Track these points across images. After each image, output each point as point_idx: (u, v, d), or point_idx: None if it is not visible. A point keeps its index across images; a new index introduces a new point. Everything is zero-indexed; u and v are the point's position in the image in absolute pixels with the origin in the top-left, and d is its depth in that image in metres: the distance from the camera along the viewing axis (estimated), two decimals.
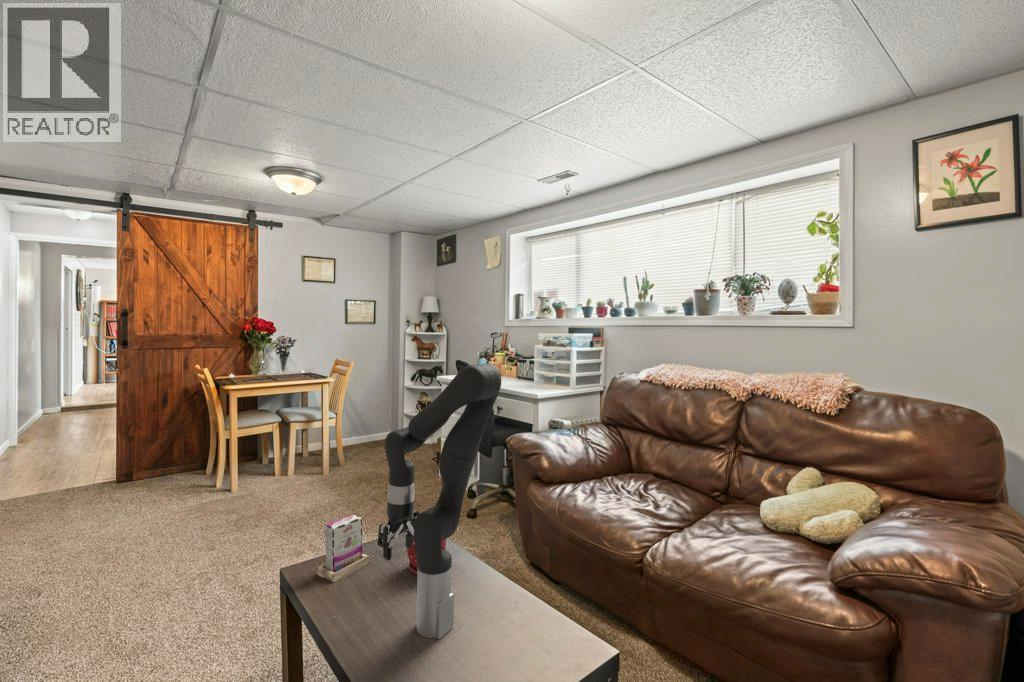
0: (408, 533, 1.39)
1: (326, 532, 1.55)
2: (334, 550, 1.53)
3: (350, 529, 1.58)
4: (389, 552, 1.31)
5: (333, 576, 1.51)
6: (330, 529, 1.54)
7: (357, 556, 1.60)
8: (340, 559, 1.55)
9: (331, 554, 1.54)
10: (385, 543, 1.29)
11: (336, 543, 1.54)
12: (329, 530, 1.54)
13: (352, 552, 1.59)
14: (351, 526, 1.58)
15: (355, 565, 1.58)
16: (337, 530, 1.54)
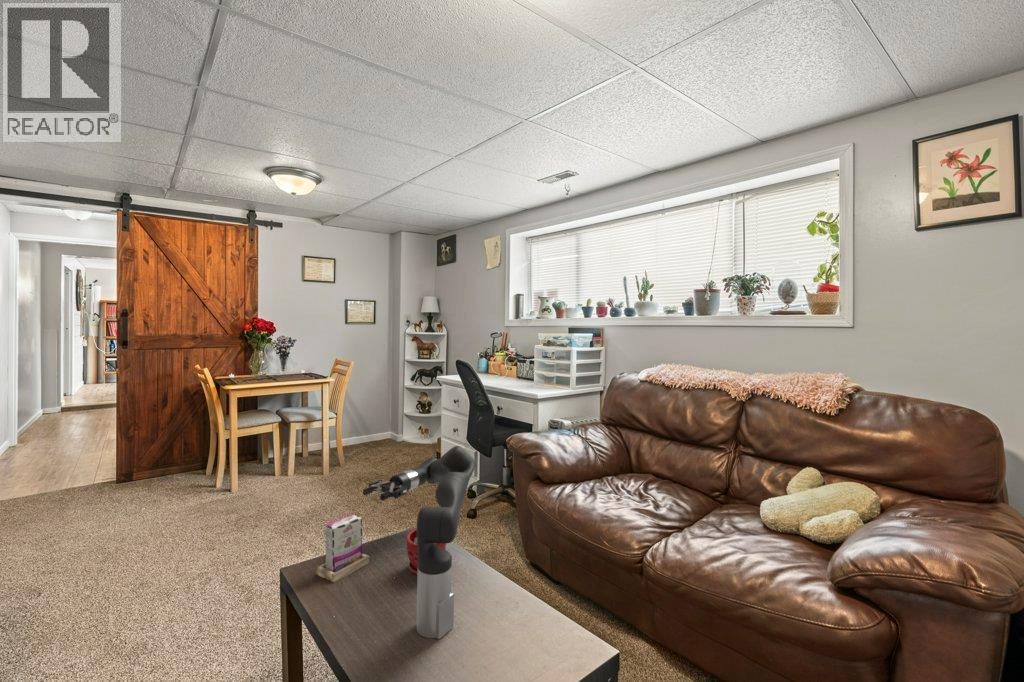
0: (373, 488, 1.74)
1: (326, 532, 1.55)
2: (334, 550, 1.53)
3: (350, 529, 1.58)
4: None
5: (333, 576, 1.51)
6: (330, 529, 1.54)
7: (357, 556, 1.60)
8: (340, 559, 1.55)
9: (331, 554, 1.54)
10: None
11: (336, 543, 1.54)
12: (329, 530, 1.54)
13: (352, 552, 1.59)
14: (351, 526, 1.58)
15: (355, 565, 1.58)
16: (337, 530, 1.54)
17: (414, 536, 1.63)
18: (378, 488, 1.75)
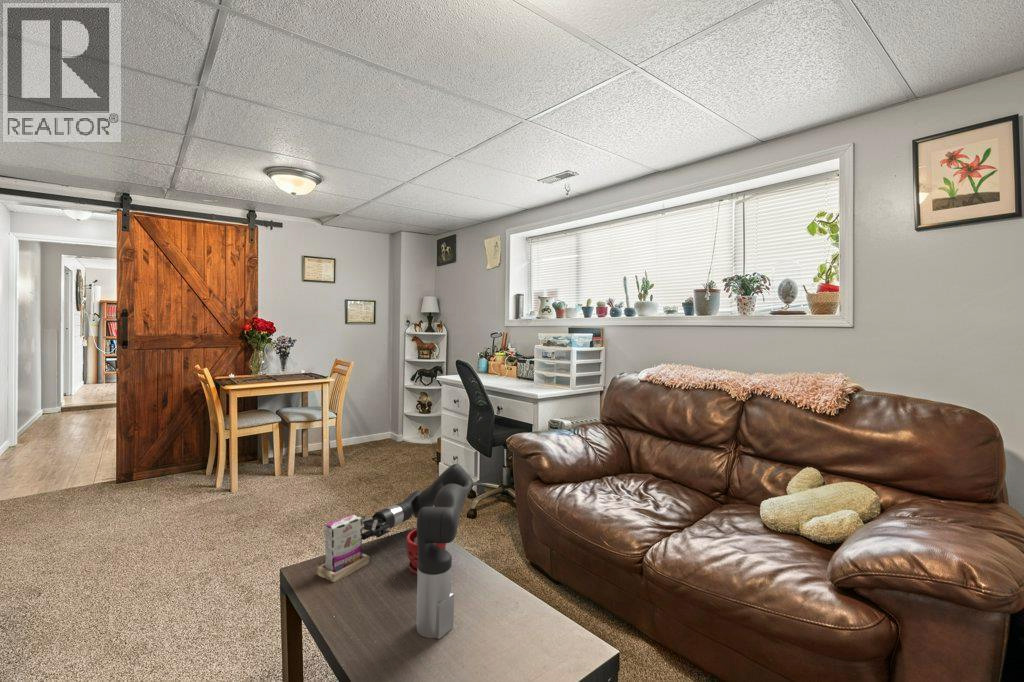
0: None
1: (326, 532, 1.55)
2: (334, 550, 1.53)
3: (350, 529, 1.58)
4: None
5: (333, 576, 1.51)
6: (329, 529, 1.54)
7: (357, 556, 1.60)
8: (340, 559, 1.55)
9: (330, 553, 1.54)
10: None
11: (336, 543, 1.54)
12: (328, 530, 1.54)
13: (352, 552, 1.59)
14: (350, 526, 1.58)
15: (355, 565, 1.58)
16: (337, 530, 1.54)
17: (414, 536, 1.63)
18: None
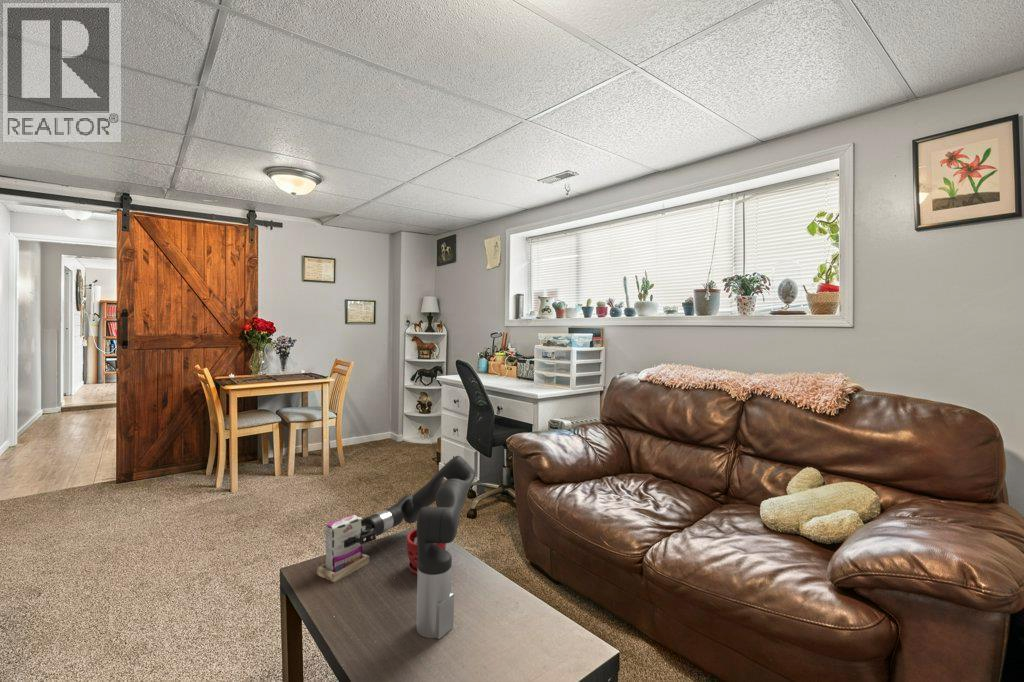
0: None
1: (326, 532, 1.55)
2: (334, 550, 1.53)
3: (350, 529, 1.58)
4: None
5: (333, 576, 1.51)
6: (330, 529, 1.54)
7: (357, 556, 1.60)
8: (340, 559, 1.55)
9: (331, 553, 1.54)
10: None
11: (336, 543, 1.54)
12: (329, 530, 1.54)
13: (352, 552, 1.59)
14: (351, 526, 1.58)
15: (355, 565, 1.58)
16: (337, 530, 1.54)
17: (414, 536, 1.63)
18: None
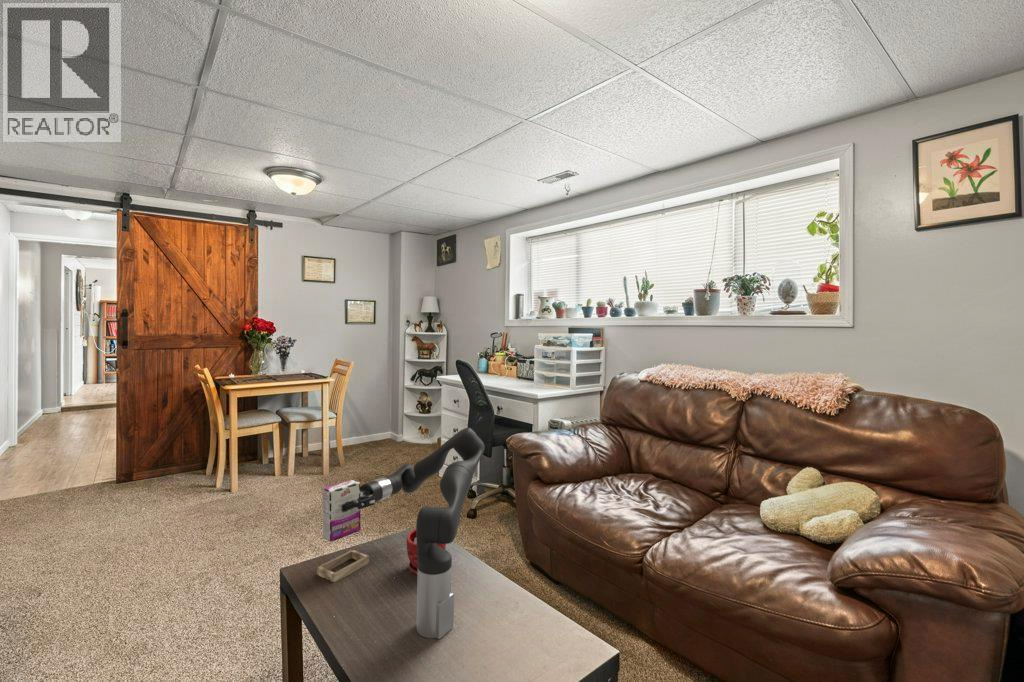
0: None
1: (323, 496, 1.51)
2: (331, 514, 1.49)
3: (348, 493, 1.54)
4: (349, 508, 1.53)
5: (333, 576, 1.51)
6: (327, 492, 1.49)
7: (355, 522, 1.56)
8: (338, 523, 1.51)
9: (328, 517, 1.50)
10: None
11: (333, 507, 1.50)
12: (326, 493, 1.50)
13: (350, 517, 1.55)
14: (348, 490, 1.54)
15: (355, 565, 1.58)
16: (335, 494, 1.50)
17: (414, 536, 1.63)
18: None
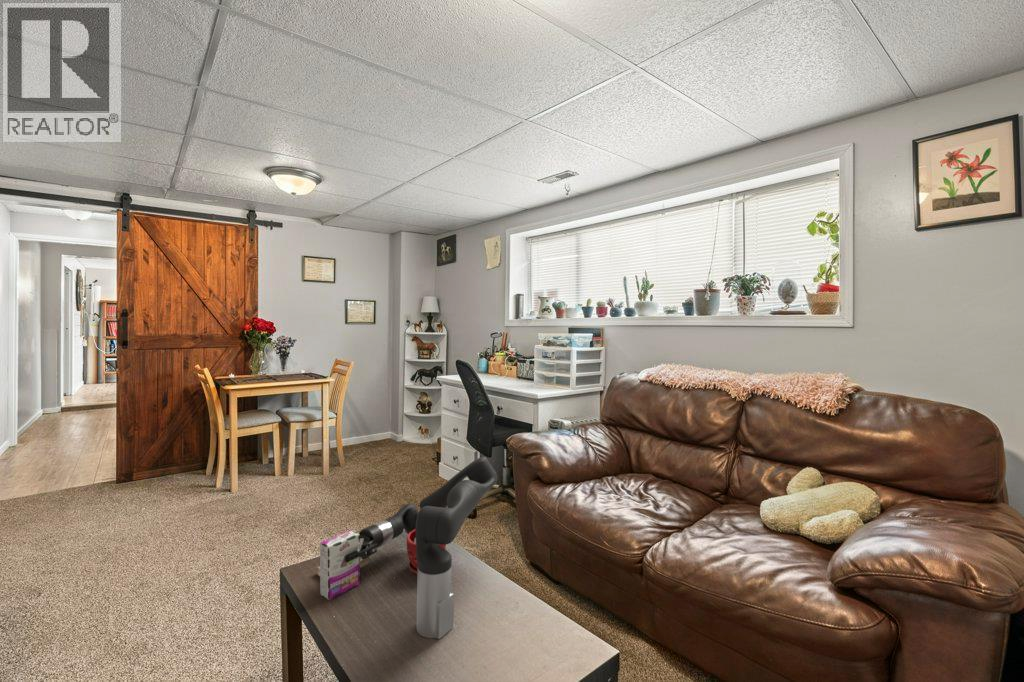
0: None
1: (321, 551, 1.43)
2: (329, 570, 1.41)
3: (347, 547, 1.46)
4: None
5: None
6: (325, 547, 1.41)
7: (355, 576, 1.48)
8: (336, 580, 1.43)
9: (326, 574, 1.41)
10: None
11: (332, 563, 1.42)
12: (324, 548, 1.42)
13: (349, 572, 1.47)
14: (347, 544, 1.46)
15: None
16: (333, 549, 1.42)
17: (414, 536, 1.63)
18: None
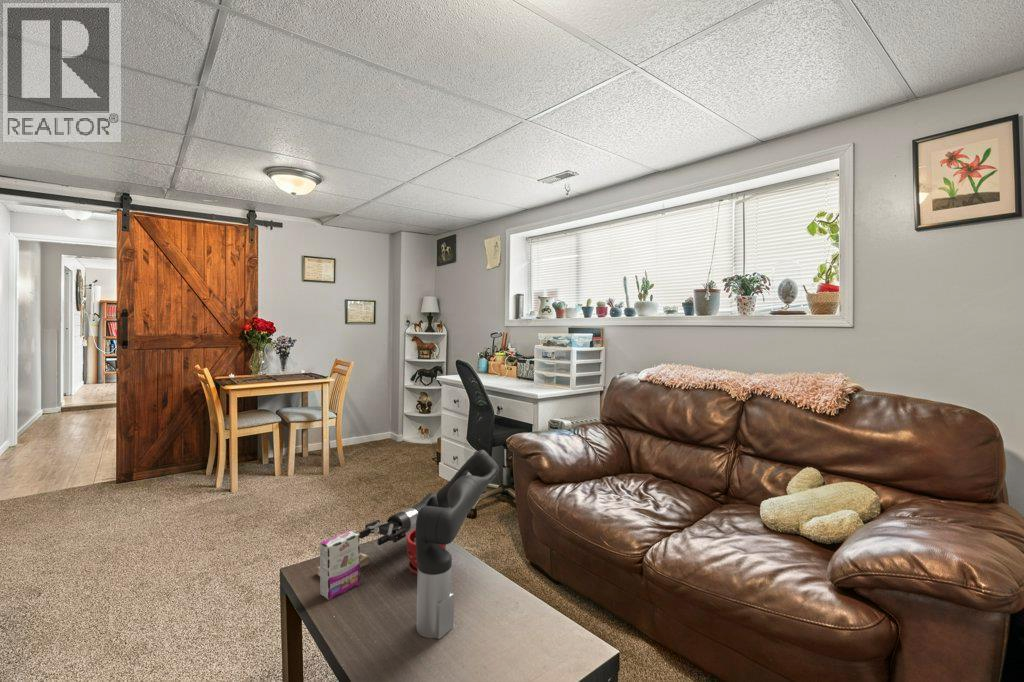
0: (370, 530, 1.62)
1: (321, 551, 1.43)
2: (329, 570, 1.41)
3: (347, 547, 1.46)
4: None
5: None
6: (325, 547, 1.41)
7: (355, 576, 1.48)
8: (336, 580, 1.43)
9: (326, 574, 1.41)
10: None
11: (332, 563, 1.42)
12: (324, 548, 1.42)
13: (349, 572, 1.47)
14: (347, 544, 1.46)
15: None
16: (333, 549, 1.42)
17: (414, 536, 1.63)
18: (375, 530, 1.63)
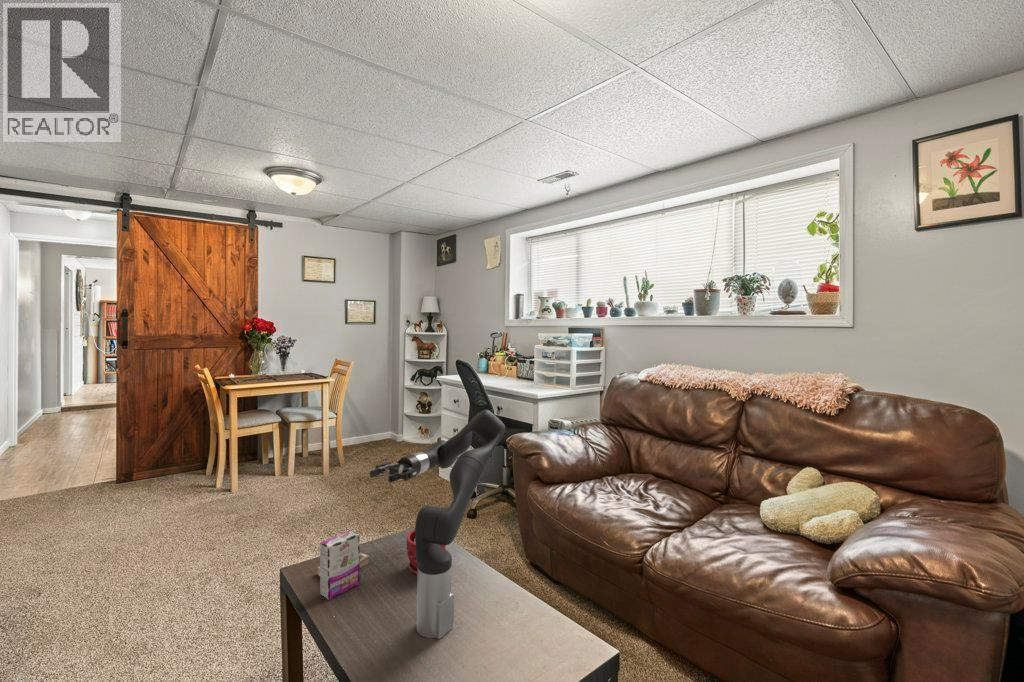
0: (380, 470, 1.62)
1: (321, 551, 1.43)
2: (329, 570, 1.41)
3: (347, 547, 1.46)
4: None
5: None
6: (325, 547, 1.41)
7: (355, 576, 1.48)
8: (336, 580, 1.43)
9: (326, 574, 1.41)
10: None
11: (332, 563, 1.42)
12: (324, 548, 1.42)
13: (349, 572, 1.47)
14: (347, 544, 1.46)
15: None
16: (333, 549, 1.42)
17: (414, 536, 1.63)
18: (386, 470, 1.63)
